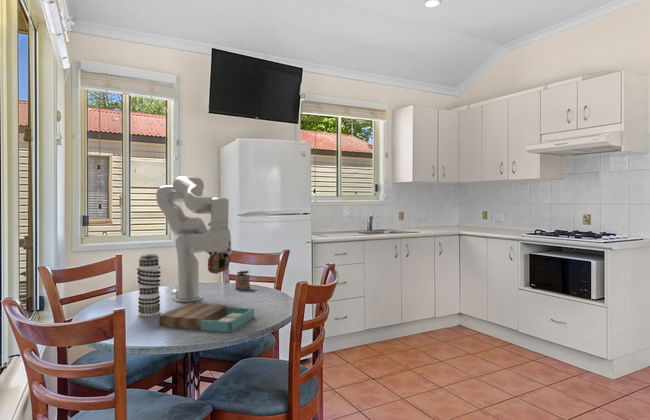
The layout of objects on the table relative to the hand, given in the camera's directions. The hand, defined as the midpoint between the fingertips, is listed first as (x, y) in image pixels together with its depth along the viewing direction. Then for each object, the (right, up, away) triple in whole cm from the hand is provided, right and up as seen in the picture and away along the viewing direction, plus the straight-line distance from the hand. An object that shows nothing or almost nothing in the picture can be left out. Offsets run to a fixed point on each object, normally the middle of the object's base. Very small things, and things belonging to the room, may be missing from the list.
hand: (218, 267), depth 180 cm
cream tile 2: (+11, -16, -18) cm, 26 cm away
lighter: (+2, -18, +41) cm, 45 cm away
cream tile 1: (+9, -17, -25) cm, 31 cm away
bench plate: (-5, -19, -17) cm, 26 cm away
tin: (0, -2, 0) cm, 2 cm away
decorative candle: (-28, -19, -7) cm, 34 cm away
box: (+9, -19, -21) cm, 29 cm away
